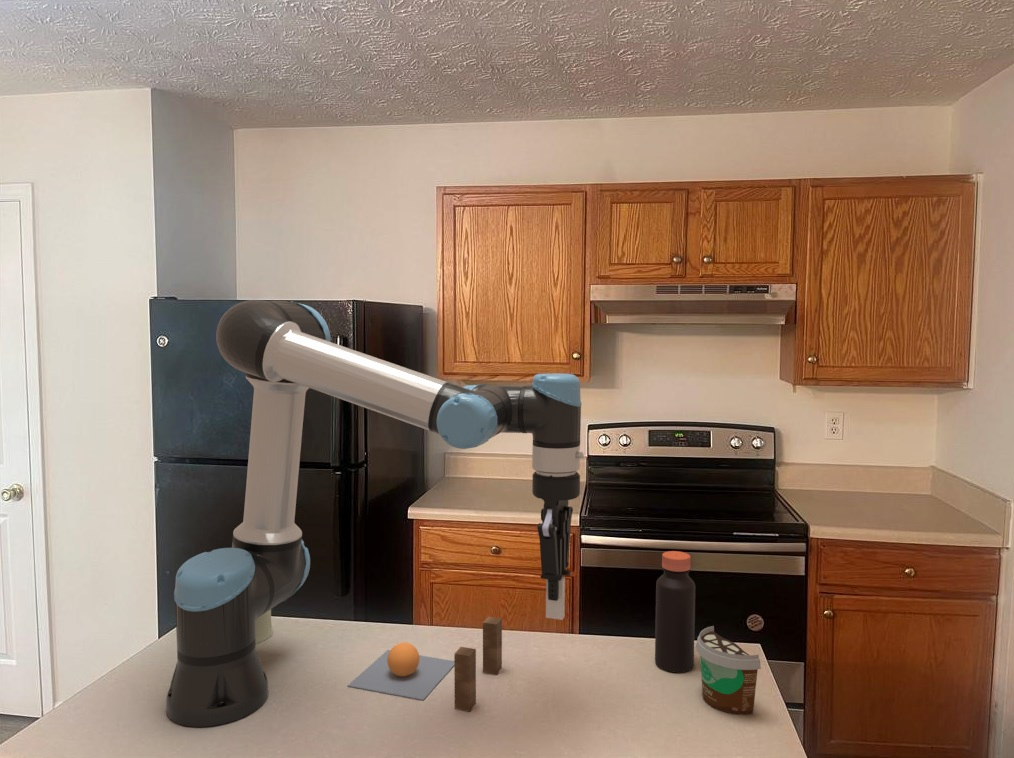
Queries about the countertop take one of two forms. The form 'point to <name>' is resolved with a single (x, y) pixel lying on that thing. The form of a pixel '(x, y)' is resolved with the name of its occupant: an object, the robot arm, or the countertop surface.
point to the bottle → (675, 614)
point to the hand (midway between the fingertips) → (555, 616)
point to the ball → (403, 659)
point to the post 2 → (492, 645)
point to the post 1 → (465, 678)
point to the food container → (727, 674)
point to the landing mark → (403, 678)
